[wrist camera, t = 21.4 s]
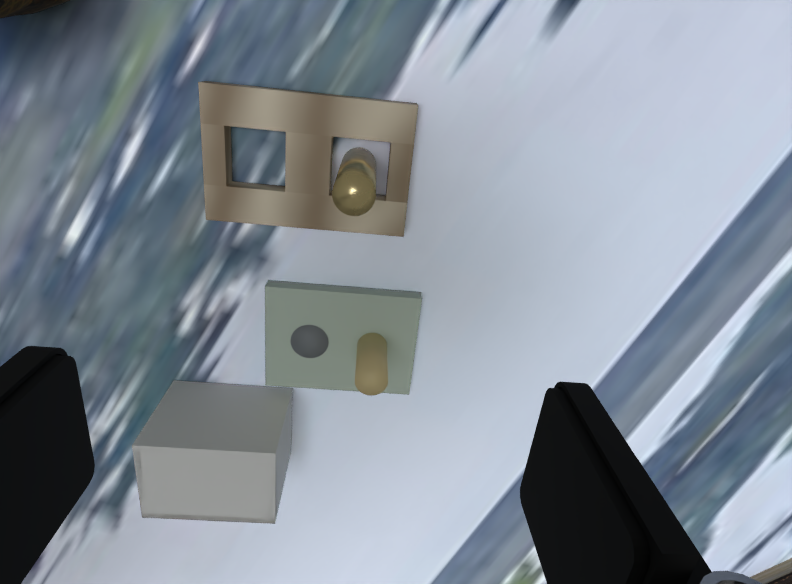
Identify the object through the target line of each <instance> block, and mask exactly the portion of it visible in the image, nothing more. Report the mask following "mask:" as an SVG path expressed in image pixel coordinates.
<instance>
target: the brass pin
mask: <svg viewBox="0 0 792 584" xmlns="http://www.w3.org/2000/svg"><path fill="white" fill-rule="evenodd" d="M375 198H376V163H375V159H374V157H373V155H372V154H371V153H370V152H369V151H368V150H366V149H364V148H353V149H350V150H349V151H348V152H347V153H346V154H345V155H344V157H343V159H342V162H341V165H340V168H339V171H338V174H337V177H336V180H335V183H334V186H333V190H332V199H333V202H334V204H335V206H336V207H337V208H338V210H340V211H341V212H342V213H344V214H346V215H349V216H360V215H363V214H365V213H367V212H368V211H369V210H370V209H371V208H372V206H373V205H374V202H375Z"/></svg>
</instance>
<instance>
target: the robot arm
mask: <svg viewBox="0 0 792 584" xmlns="http://www.w3.org/2000/svg"><path fill="white" fill-rule="evenodd" d="M94 467H95V464H94V457H93V452H92V447H91V441H90V436H89V431H88V425H87V420H86V414H85V409H84V404H83V398H82V393H81V387H80V382H79V377H78V371H77V366H76V362H75V360H74V358H73V357H71V356H67V353H66V352H65V350H64V349H61V348H53V347H38V346H27V347H25V348H23V349H22V350H21V351H19V352H18V353H17V354H16V355H14V356H13V357H12V358H11V359H9V360H8V361H7V362H6V363H4V364H3V365H2V366H1V367H0V584H21V583H22V581H23V580H24V578H25V577H26V575H27V574H28V572H29V571H30V570H31V568H32V567H33V565H34V564H35V562H36V561H37V559H38V558H39V556H40V555H41V553H42V552H43V551H44V549H45V548H46V546H47V545H48V543H49V542H50V540H51V539H52V537H53V536H54V534H55V533H56V532H57V530H58V529H59V527H60V526H61V524H62V523H63V521H64V520H65V518H66V517H67V515H68V514H69V513H70V511H71V510H72V508H73V507H74V505H75V504H76V502H77V501H78V499H79V498H80V496H81V495H82V494H83V492H84V491H85V489H86V488H87V486H88V485H89V483H90V481H91V479H92V477H93V473H94ZM520 498H521V504H522V507H523V510H524V514H525V517H526V520H527V523H528V526H529V529H530V532H531V535H532V538H533V541H534V544H535V547H536V550H537V554H538V557H539V560H540V563H541V566H542V569H543V572H544V575H545V578H546V581H547V584H762V583H761V582H759V581H756V580H754V579H752V578H750V577H747V576H745V575H743V574H739V573H734V572H730V571H714V572H711V570H710V569H709V567H708V565H707V564H706V562H705V561H704V559H703V558H702V556H701V555H700V553H699V552H698V550H697V549H696V547H695V546H694V544H693V543H692V541H691V540H690V538H689V536H688V535H687V533H686V532H685V530H684V529H683V527H682V526H681V524H680V523H679V521H678V520H677V518H676V517H675V515H674V514H673V512H672V511H671V509H670V507H669V506H668V504H667V503H666V501H665V500H664V498H663V497H662V495H661V494H660V492H659V491H658V489H657V488H656V486H655V485H654V483H653V482H652V480H651V478H650V477H649V475H648V474H647V472H646V471H645V469H644V468H643V466H642V465H641V463H640V462H639V460H638V459H637V458H636V456H635V455H634V453H633V452H632V450H631V448H630V447H629V445H628V444H627V442H626V441H625V439H624V438H623V436H622V435H621V433H620V432H619V430H618V429H617V427H616V426H615V424H614V422H613V421H612V419H611V418H610V416H609V415H608V413H607V412H606V410H605V409H604V407H603V406H602V404H601V403H600V401H599V400H598V398H597V396H596V395H595V393H594V392H593V390H592V389H591V387H590V386H589V385H588V384H585V383H572V382H558V383H557V384H556V385H555V387H554V388H549V389H548V390H547V391H546V394H545V397H544V401H543V405H542V408H541V412H540V416H539V419H538V423H537V427H536V431H535V434H534V438H533V442H532V445H531V449H530V453H529V457H528V460H527V464H526V468H525V472H524V475H523V479H522V483H521V487H520Z"/></svg>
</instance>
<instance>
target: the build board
mask: <svg viewBox="0 0 792 584" xmlns="http://www.w3.org/2000/svg"><path fill="white" fill-rule="evenodd" d="M198 84H199V102H200V120H201V139H202V157H203V175H204V193H205V212H206V220H216V221H227V222H239V223H250V224H262V225H273V226H285V227H297V228H308V229H320V230H331V231H343V232H354V233H366V234H377V235H389V236H401V237H403V236H404V227H405V219H406V210H407V201H408V192H409V183H410V174H411V165H412V156H413V147H414V138H415V129H416V120H417V112H418V104H417V103H408V102H399V101H389V100H380V99H370V98H361V97H351V96H342V95H333V94H323V93H314V92H304V91H295V90H285V89H276V88H266V87H257V86H247V85H238V84H229V83H219V82H210V81H203V82H198ZM231 126H232V127H242V128H252V129H262V130H272V131H283V132H286V169H285V186H277V185H266V184H255V183H244V182H234V181H232V152H231ZM333 137H343V138H353V139H363V140H373V141H383V142H391V144H390V155H389V166H388V176H387V187H386V196H385V195H376V198H375V202H374V205H373V206H372V208H371V209H370V210H369V211H368V212H367V213H365V214H363V215H360V216H349V215H346V214H344V213H342V212H341V211H340V210H338V208H337V207H336V206H335V204H334V202H333V199H332V191H331V174H332V154H333Z"/></svg>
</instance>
